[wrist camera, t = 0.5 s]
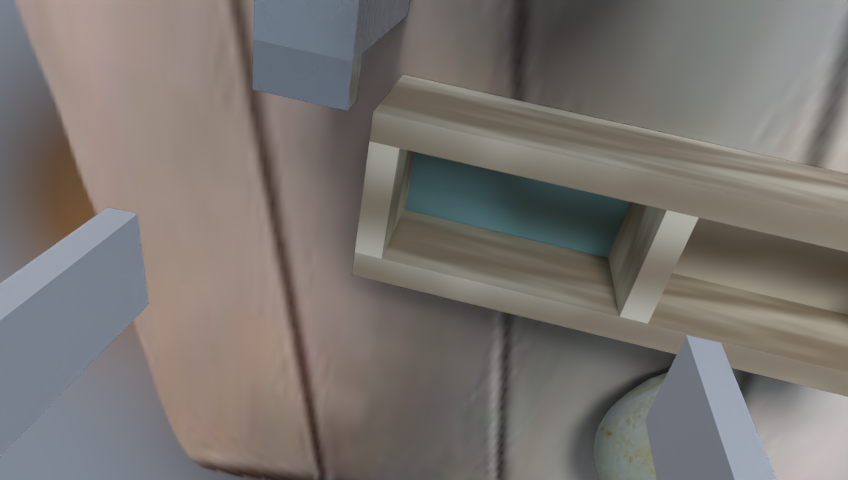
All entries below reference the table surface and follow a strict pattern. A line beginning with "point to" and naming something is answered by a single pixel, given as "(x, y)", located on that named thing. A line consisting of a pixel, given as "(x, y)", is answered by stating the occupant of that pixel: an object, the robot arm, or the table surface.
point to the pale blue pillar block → (318, 46)
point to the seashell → (627, 436)
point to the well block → (608, 229)
